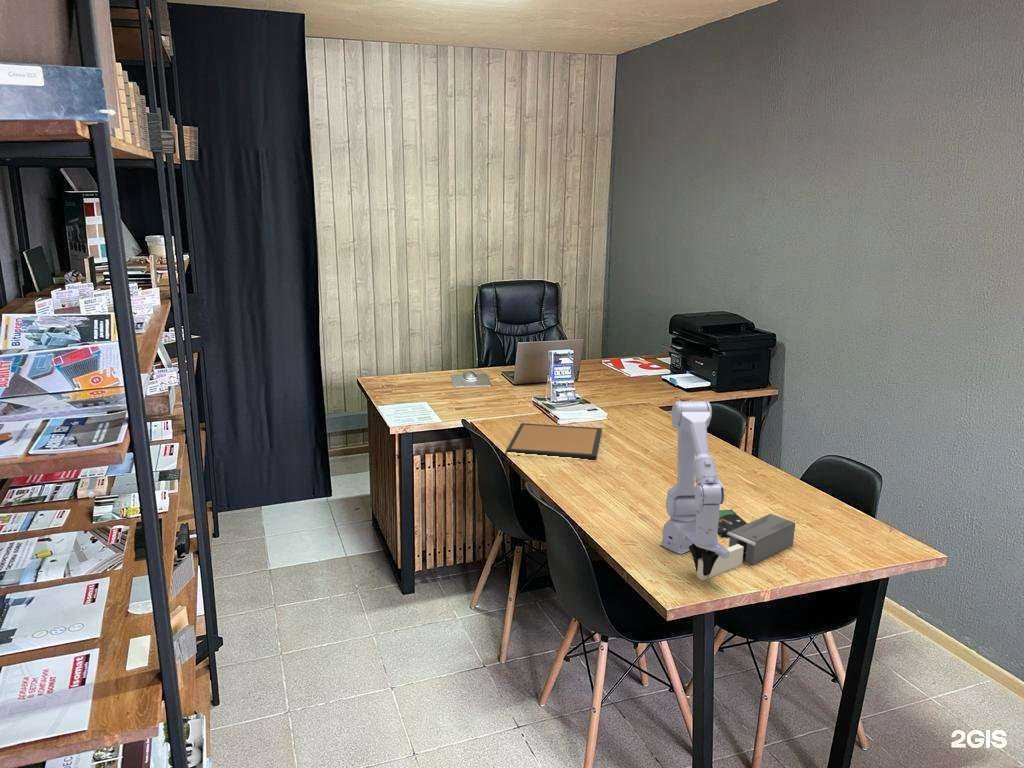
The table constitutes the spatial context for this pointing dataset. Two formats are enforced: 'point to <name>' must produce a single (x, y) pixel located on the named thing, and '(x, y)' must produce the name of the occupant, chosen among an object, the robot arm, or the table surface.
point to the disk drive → (728, 522)
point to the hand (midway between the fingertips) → (703, 572)
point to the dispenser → (763, 537)
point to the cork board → (556, 441)
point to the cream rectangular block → (723, 562)
